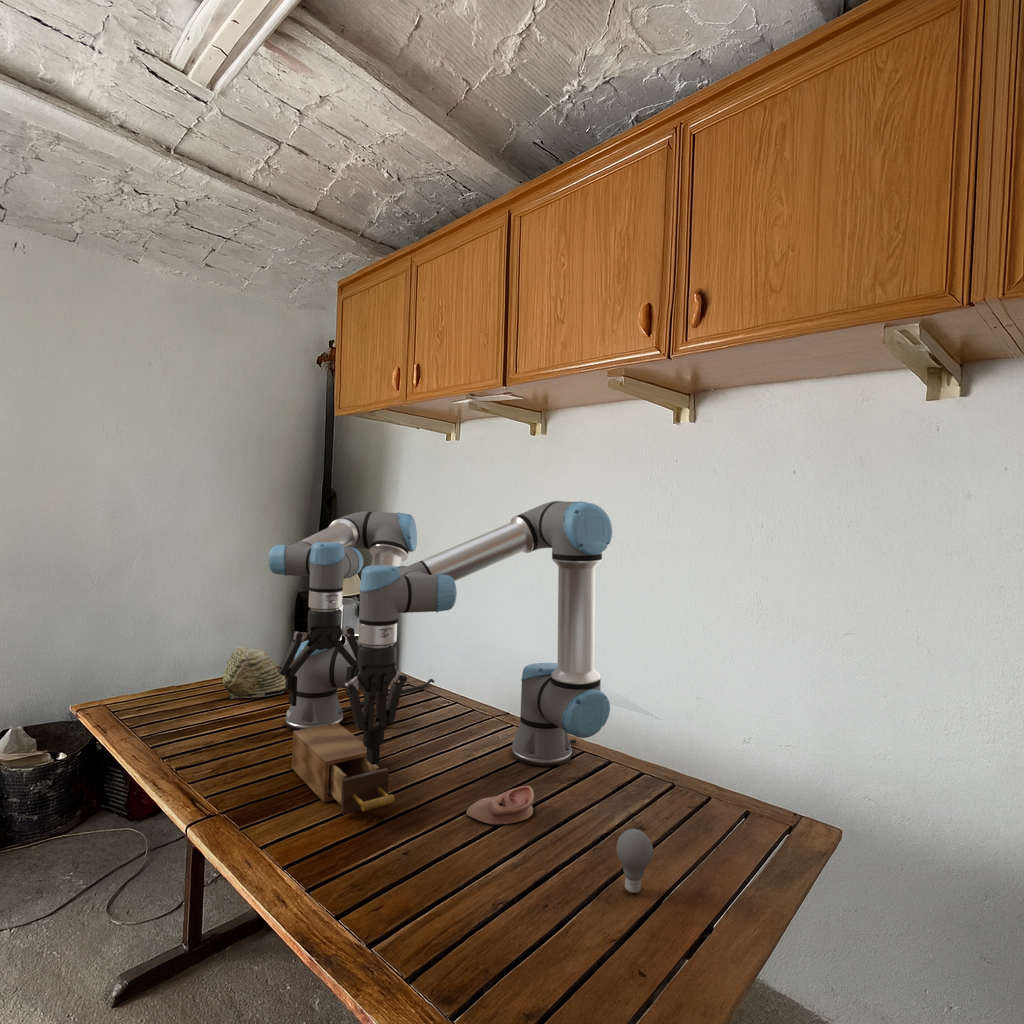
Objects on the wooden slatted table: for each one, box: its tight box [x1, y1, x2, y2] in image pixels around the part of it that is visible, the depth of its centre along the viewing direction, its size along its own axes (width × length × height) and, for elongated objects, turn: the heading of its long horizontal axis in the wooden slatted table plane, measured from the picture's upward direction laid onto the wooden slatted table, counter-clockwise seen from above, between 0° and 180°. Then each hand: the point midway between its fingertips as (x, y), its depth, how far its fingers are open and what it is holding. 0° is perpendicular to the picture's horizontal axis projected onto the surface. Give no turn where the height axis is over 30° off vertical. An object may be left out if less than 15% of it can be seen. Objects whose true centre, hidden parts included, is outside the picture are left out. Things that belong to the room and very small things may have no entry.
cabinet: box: [291, 723, 367, 804], centre depth 142 cm, size 20×11×9 cm, turn 38°
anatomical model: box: [465, 785, 535, 825], centre depth 130 cm, size 13×4×12 cm
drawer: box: [329, 757, 395, 815], centre depth 133 cm, size 25×10×7 cm, turn 38°
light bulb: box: [615, 828, 654, 894], centre depth 106 cm, size 6×6×10 cm
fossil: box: [222, 646, 287, 699], centre depth 198 cm, size 9×18×15 cm, turn 132°
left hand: (321, 699), depth 148 cm, fingers open, 13 cm apart
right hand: (372, 761), depth 126 cm, fingers closed
